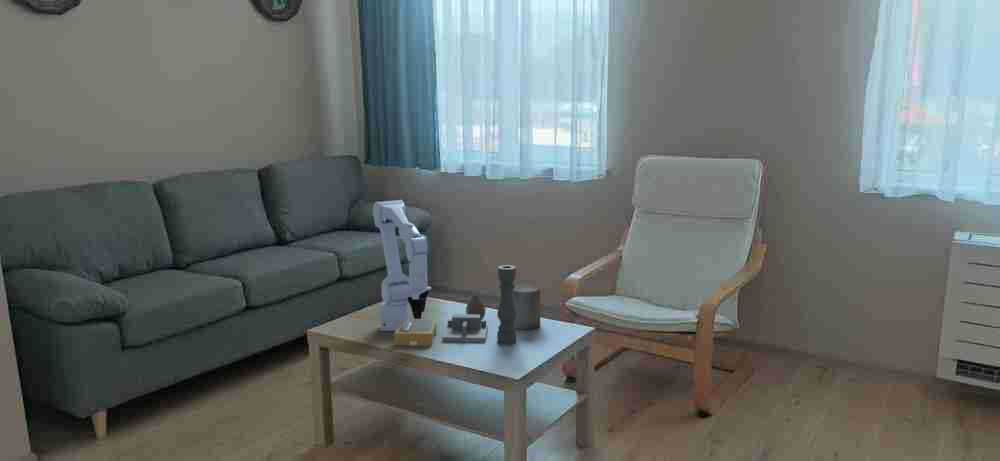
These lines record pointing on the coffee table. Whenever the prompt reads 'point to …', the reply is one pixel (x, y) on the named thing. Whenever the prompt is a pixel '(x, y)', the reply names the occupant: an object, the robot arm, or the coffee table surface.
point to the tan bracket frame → (414, 336)
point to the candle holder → (506, 305)
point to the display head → (465, 329)
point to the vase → (476, 307)
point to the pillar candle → (527, 306)
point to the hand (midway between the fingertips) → (419, 315)
